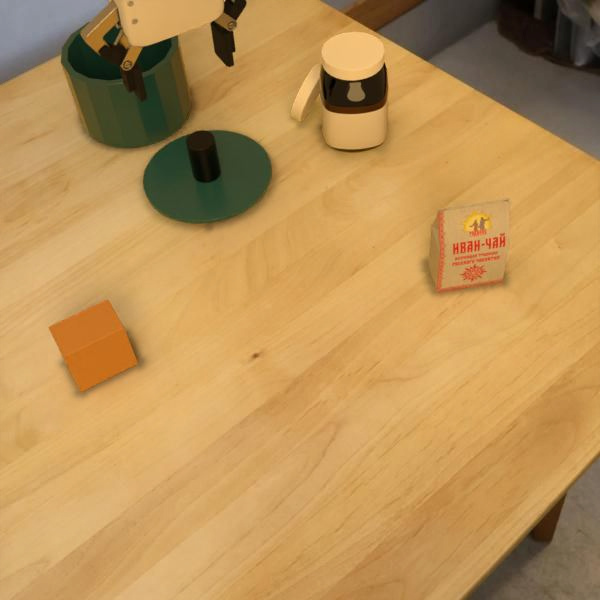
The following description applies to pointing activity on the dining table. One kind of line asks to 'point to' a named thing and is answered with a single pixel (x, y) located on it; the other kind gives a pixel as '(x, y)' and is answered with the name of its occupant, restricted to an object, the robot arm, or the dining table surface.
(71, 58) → the pot
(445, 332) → the dining table surface
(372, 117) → the spread jar
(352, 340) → the dining table surface
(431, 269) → the tea bag
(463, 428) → the dining table surface
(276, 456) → the dining table surface
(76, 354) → the orange seamed cube
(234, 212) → the lid
